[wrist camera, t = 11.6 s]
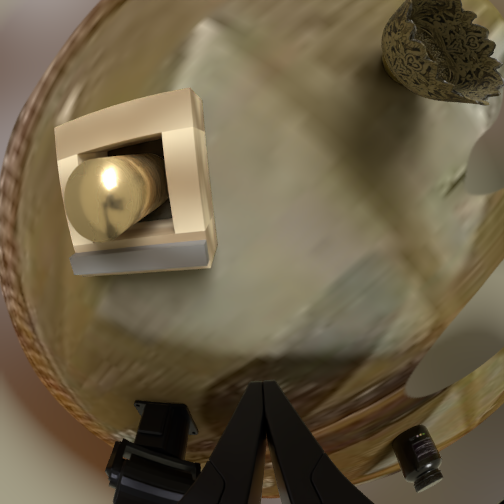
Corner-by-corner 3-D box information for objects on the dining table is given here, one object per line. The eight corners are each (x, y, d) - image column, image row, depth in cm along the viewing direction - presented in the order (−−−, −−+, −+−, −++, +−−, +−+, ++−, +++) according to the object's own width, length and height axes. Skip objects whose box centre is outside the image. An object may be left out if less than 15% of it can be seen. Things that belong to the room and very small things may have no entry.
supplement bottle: (416, 438, 33) (436, 485, 22) (386, 449, 33) (403, 500, 22) (431, 419, 31) (456, 469, 20) (399, 430, 31) (421, 487, 20)
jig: (217, 244, 19) (208, 274, 15) (107, 254, 19) (76, 282, 15) (202, 100, 15) (186, 84, 11) (86, 128, 16) (47, 127, 11)
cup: (389, 125, 16) (463, 121, 8) (335, 39, 14) (383, -11, 6) (448, 95, 15) (517, 88, 7) (403, 19, 12) (459, -15, 5)
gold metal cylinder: (176, 205, 18) (139, 238, 11) (126, 212, 18) (73, 246, 12) (169, 148, 17) (125, 150, 10) (117, 159, 17) (58, 169, 10)
